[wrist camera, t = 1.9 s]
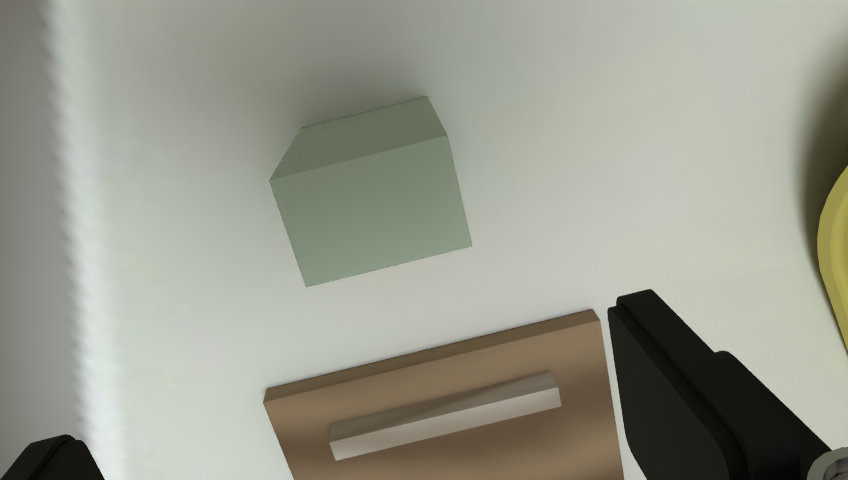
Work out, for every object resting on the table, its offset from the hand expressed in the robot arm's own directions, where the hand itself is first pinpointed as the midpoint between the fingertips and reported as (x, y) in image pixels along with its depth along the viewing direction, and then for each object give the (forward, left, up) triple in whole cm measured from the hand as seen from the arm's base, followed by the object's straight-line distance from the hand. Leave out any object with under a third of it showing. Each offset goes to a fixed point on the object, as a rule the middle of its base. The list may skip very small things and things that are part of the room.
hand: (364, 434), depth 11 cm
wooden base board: (+22, 0, -20) cm, 30 cm away
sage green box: (0, 0, -20) cm, 20 cm away
